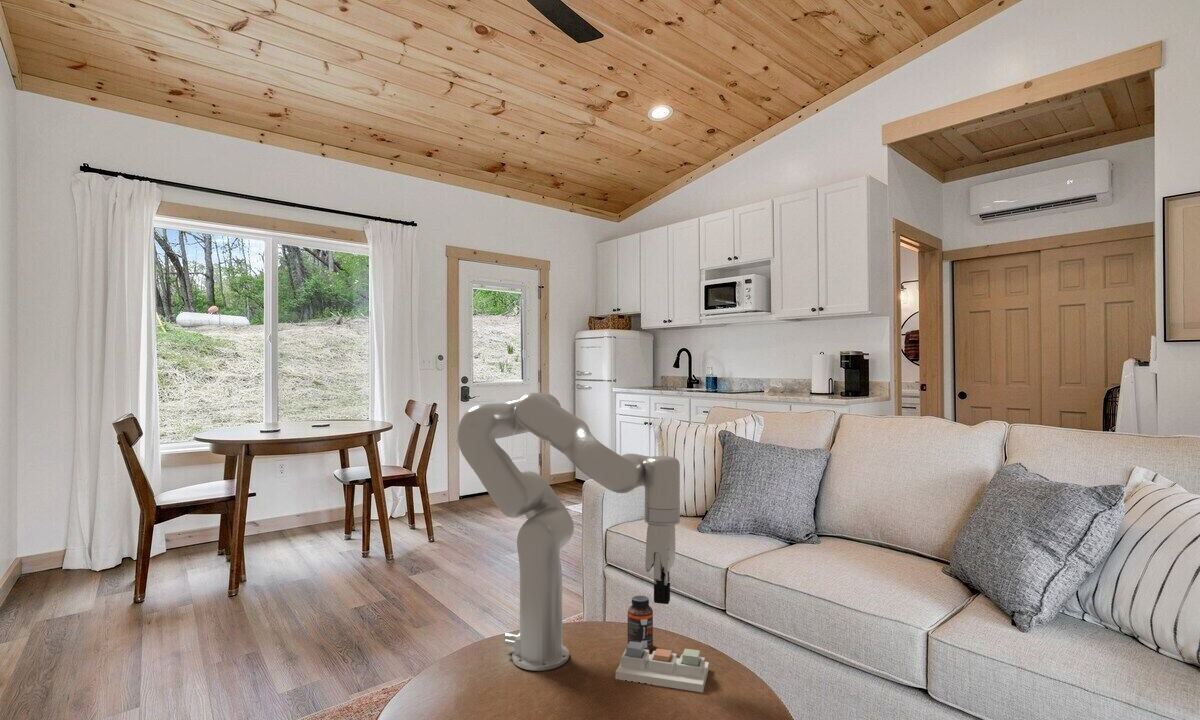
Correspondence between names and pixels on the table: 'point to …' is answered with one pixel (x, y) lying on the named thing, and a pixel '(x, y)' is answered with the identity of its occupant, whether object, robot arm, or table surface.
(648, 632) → the supplement bottle
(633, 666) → the button console
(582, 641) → the table surface
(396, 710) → the table surface
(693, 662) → the sage button
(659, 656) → the terracotta button
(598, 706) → the table surface
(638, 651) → the slate button
